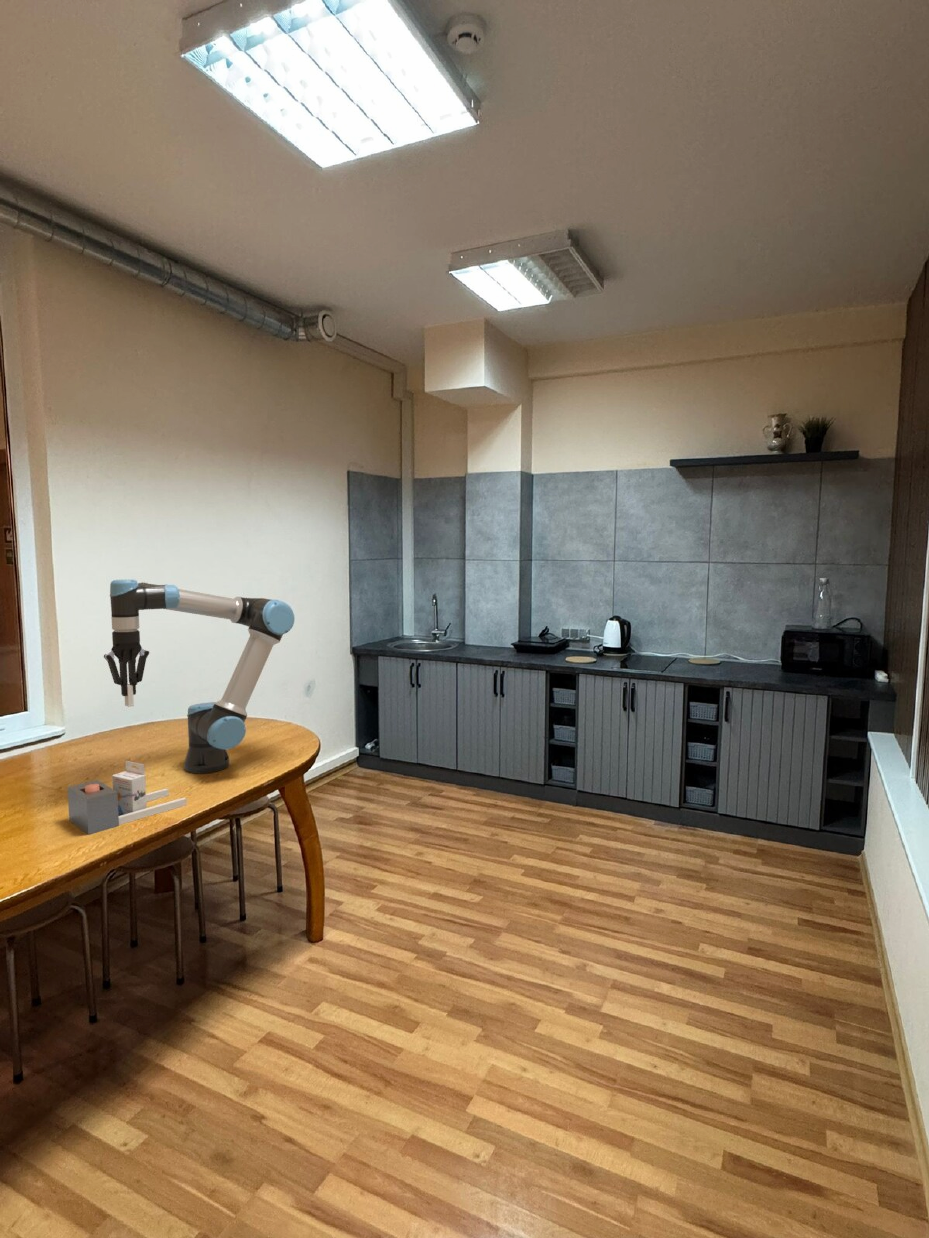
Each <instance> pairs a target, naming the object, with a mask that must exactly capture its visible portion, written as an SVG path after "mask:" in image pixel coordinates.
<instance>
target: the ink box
mask: <svg viewBox="0 0 929 1238" xmlns="http://www.w3.org/2000/svg"><path fill="white" fill-rule="evenodd" d="M124 763H125V770H124V771H120V772H118V773H115V774H112V776H111V778H112V789H114V790H116V791H117V794H118V815H119V816H121V815H125V814H128V813H132V812H135V811H139V810H142V809H145V808H148V807H147V802H146V794H147V789H146V788H147V787H146V786H147V785H146V772H145V770H146V769H145V764H144V763H139V762H133V761H129V760H125V762H124ZM134 766H135V767H134ZM136 767H137V768H136Z"/></svg>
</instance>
